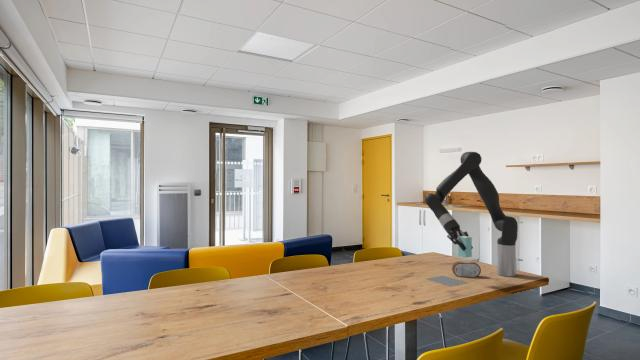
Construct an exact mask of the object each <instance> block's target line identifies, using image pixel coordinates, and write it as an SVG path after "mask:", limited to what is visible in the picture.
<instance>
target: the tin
mask: <svg viewBox="0 0 640 360" xmlns="http://www.w3.org/2000/svg"><path fill="white" fill-rule="evenodd" d="M451 271H452V273H453V274H454V275H455V276H456V277H471V278H472V277H473V278H474V277H479V276H480V275H481V273H482V269H481V267H480V265H479V264H478V263H477V262H474V261H456V262H454V263H453V264H452V266H451Z"/></svg>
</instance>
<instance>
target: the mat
mask: <svg viewBox="0 0 640 360" xmlns="http://www.w3.org/2000/svg"><path fill="white" fill-rule="evenodd" d="M425 280H427V281H431V282H434V283H437V284H440V285H442V286H447V287H456V286H461V285H464V284H468V283H469V281H468V282H467V281H464V280H462V279H461V280H460V279H456V278H454V277H449V276H446V275H438V276H433V277H427V278H425Z"/></svg>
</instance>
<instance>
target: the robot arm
mask: <svg viewBox="0 0 640 360" xmlns="http://www.w3.org/2000/svg"><path fill="white" fill-rule="evenodd" d="M459 159H460V165H459V166H458V168H456V169H455V170H454V171H453V172H451V173H450V174H449V175H447V176H446V177H445V178H444V179H443V180H442V181H441V182H440V183H439V184H438V185H437V187H436V189H435V190H436V191H435V193H427V194H426V195H425V197H424V202H425V204H426V206H428V207H429V209H430V210H431V211H432V212H433V215H435V217H436V219H437V220H438V222H439V223H440V225H441V227H442V228H443V229H444V231H445V232H446V233H447V235H446V237H447V238H448V239H449V240H450V241H451V242H452V244H454V245H457V246H458V245H459V246H460V248H461V249H462V250H463V251H465V250H466V247H465V246H464V244H463V243H461V242H462V241H461V240H460V236H469V233H468V232H467V231H462V230H461V226H460V224H459V223H458V222H457V220H456V218H455V217H454V216H453V215H452V214H451V213H450V211H448V209H447V208H446V206H444V205H443V202H444V200H445V199H446V197H447V195H449V193H450V192H451V191H452V190H454V188H455V187H456V186H458V184H459V183H460V182H461V181H462V180H463V179H464V178H465V177H466V176H467V175H469V177H470V179H471V181H472V183H473V185H474V187H475V189H476V191H477V193H478V195H479V197H480V198H481V201H482V202H483V204H484V206H485V207H486V209H487V211H488V213H489V215H490V218H491V220H492V223H493V225H494V227H495V228H496V230H497V231H499V232H501V236H500V237H498V238H497V240H496V243H497V247H496V248H497V250H496V251H497V254H496V256H497V257H496V258H497V267H496V268H497V275H499V276H502V277H515V276H517V257H516V253H517V252H516V249H517V247H516V244H517V243H516V242H517V240H518V231H519V230H518V226H519V225H518V221H517V219H516V218H515V217H513V216H509V215H508V216H507V215H506V214H505V212H504V211H503V210H502V207H501V205H500V194H499V192H498V190H497V188H496V187H495V185H494V183H493V182H492V180H491V179H490V178H489V177H488V176H487V175H486V174H485V173H484V172H483V170H482V169H481V166H480V165H481V163H482V159H483V158H482V156H481V154H480V153H478V152H476V151H465V152H464V153H462V154H461V156H460V158H459ZM469 237H470V236H469ZM458 240H459V241H458ZM472 249H474V247H473V246H472Z"/></svg>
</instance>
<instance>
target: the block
mask: <svg viewBox="0 0 640 360" xmlns="http://www.w3.org/2000/svg"><path fill="white" fill-rule="evenodd" d="M460 240H461V241H462V242H461V243H463V244H464V246H465V247H466V250H465V251H463V250H462V249H461V248H460V246H459V245H457V247H458V252H457V253H458V257H462V258H472V256H473V255H472V250H473V248H472V247H473V245H472V241H473V238H472V237H471V236H460ZM458 241H459V240H458Z"/></svg>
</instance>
